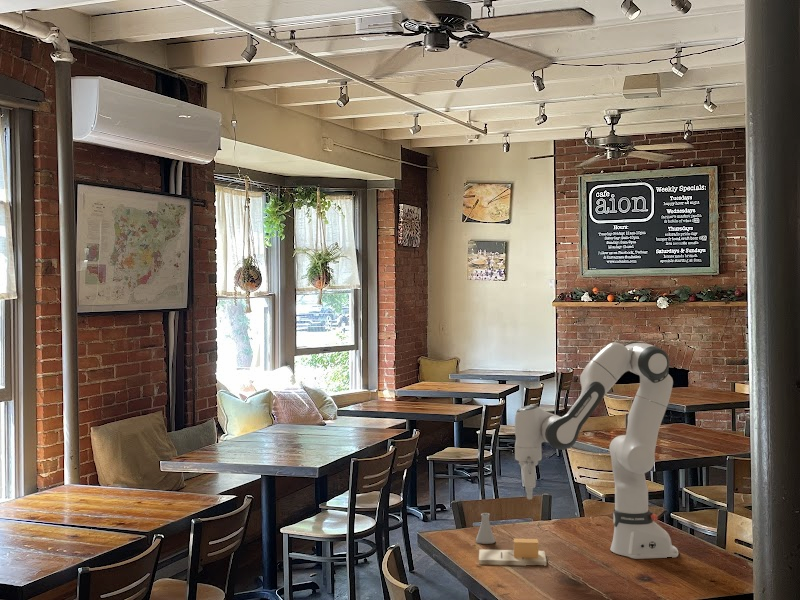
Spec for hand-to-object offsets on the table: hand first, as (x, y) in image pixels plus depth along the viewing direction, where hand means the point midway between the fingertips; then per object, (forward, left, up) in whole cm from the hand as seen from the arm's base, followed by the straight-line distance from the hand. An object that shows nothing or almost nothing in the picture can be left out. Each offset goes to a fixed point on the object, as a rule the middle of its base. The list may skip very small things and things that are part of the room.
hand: (528, 495), depth 312 cm
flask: (+15, -19, -22) cm, 33 cm away
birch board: (+6, +2, -21) cm, 22 cm away
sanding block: (+1, +2, -20) cm, 20 cm away
